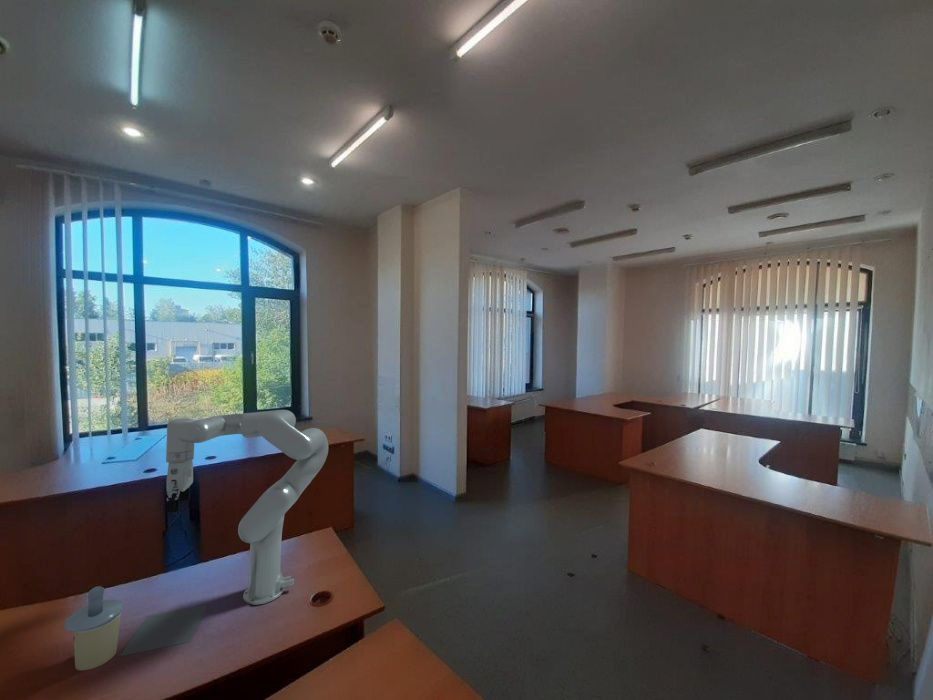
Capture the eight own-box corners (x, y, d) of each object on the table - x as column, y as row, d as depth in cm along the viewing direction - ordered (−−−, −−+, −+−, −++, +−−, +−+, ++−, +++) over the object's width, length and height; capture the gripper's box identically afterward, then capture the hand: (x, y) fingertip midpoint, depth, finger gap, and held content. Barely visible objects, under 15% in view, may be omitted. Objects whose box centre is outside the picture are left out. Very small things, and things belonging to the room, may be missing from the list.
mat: (208, 606, 120) (208, 605, 120) (190, 643, 105) (190, 641, 105) (147, 618, 115) (147, 616, 115) (119, 658, 100) (120, 656, 100)
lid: (131, 598, 106) (132, 572, 106) (109, 625, 95) (111, 596, 95) (81, 607, 102) (82, 579, 102) (53, 636, 91) (54, 605, 92)
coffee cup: (93, 647, 103) (95, 603, 103) (129, 645, 104) (131, 602, 104) (59, 676, 94) (61, 628, 94) (99, 674, 95) (101, 627, 95)
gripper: (184, 461, 119) (182, 515, 119) (201, 448, 135) (199, 495, 135) (155, 463, 116) (153, 518, 116) (176, 449, 133) (175, 497, 132)
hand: (178, 505), depth 126 cm, fingers open, 9 cm apart
